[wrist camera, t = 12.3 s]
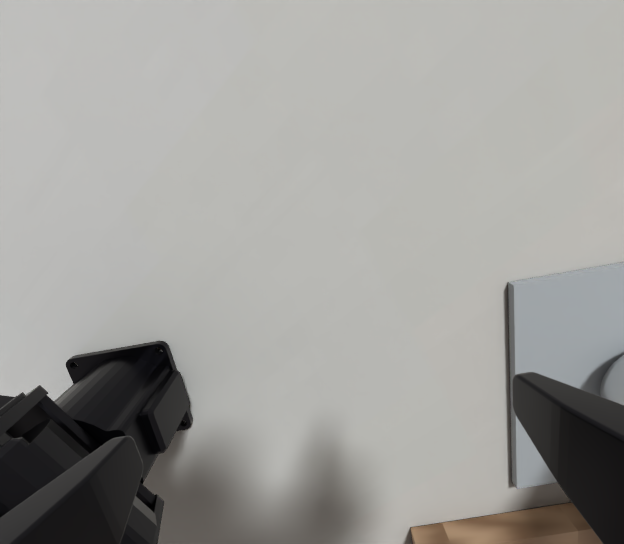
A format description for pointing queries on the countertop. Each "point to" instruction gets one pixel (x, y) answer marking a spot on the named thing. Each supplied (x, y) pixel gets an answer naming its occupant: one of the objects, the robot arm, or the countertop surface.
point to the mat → (562, 343)
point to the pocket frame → (513, 528)
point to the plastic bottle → (614, 382)
